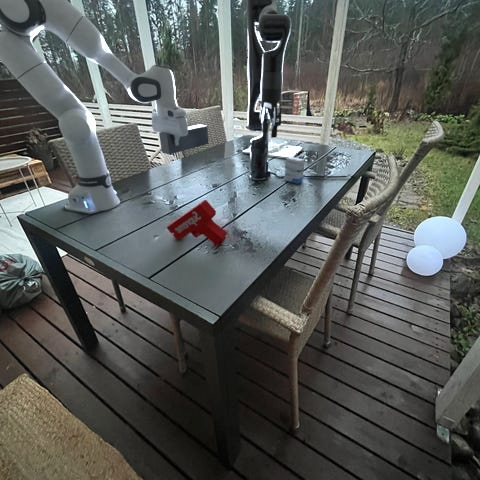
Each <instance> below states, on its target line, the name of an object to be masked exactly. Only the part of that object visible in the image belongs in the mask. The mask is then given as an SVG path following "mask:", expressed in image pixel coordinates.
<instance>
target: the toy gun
mask: <svg viewBox="0 0 480 480" xmlns="http://www.w3.org/2000/svg"><path fill="white" fill-rule="evenodd" d="M216 214H217V211H216V209H215V208H214V207H213V206H212V204H210V203H209V202H208V200H207V199H204V200H202V201H200V202H199V203H198V204H196V205H195V206H193V207H192V208H190V209H189V210H187V211H186V212H185V213H183V214H182V215H180V216H179V217H177V218H175V219H174V220H173V221H172V222H171V223H170V224H168V225H167V226H166V229H167V230H168V231H169V232H170V234H172V236H173V238H174V239H175V240H181V239H183V238H184V237H186V236H188V235H189V234H192V236H193V237H194V238H198V237H200V236H202V235H203V236H204V237H205V238H207V239H208V240H209V241H210V242H212V243H213V246H214V247H216V248H217V246H218V245H223V243H224V242H225V240H226V239H227V237H226V236H227V234H228V231H226V229H224V228H223V227H221V226H220V225H218V224H217V223H216V222H215V221H214V220H213V219H214V217H215V216H216Z"/></svg>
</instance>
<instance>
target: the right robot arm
mask: <svg viewBox="0 0 480 480" xmlns="http://www.w3.org/2000/svg"><path fill="white" fill-rule="evenodd" d="M277 9H278V8H277V4H276V0H246V24H247V50H248V51H247V57H248V58H247V81H248V82H247V84H248V85H247V86H248V106H247V128H248V130H249V131H250V132H261V135H259V136H257V137H254V138H251V139H250V146H251V148H250V154H249V157H250V158H249V160H250V161H249V165H250V166H249V167H250V168H248V171H249V178H250V180H253V181H256V182H257V181H265V180H268V179H269V178H271V175H274V177H276V178H277V179H285V175H282V176H279V175H277V173H276V172H272V170H271V169H270V168H269V156H268V145H269V139H270V137H271V139H272V138H277V137H278V127H279V126H281V125H282V113H283V111H282V110H283V109H282V106H278V103H281V102H282V97H283V96H282V95H283V81H284V80H283V78H284V77H283V69H284V68H283V67H284V57H285V51H286V47H287V43H288V40H289V37H290V35H291V30H292V20H291V17H290V15H288V14H285V13H279V12H278V10H277ZM256 25H257V28H256ZM256 29H257V30H256ZM260 41H262V42H264V43H277V45H276V47H275V48H273V49H271V50H267V51H265V50H264V48H263V47H262V44H261V42H260ZM259 98H260V102H261V103H260V106H259V110H256V108H257V103H258V102H259ZM305 175H306V174H303V178H323V179H324V178H325V179H327V178H328V179H334V178H335V179H339V178H347V177H349V176H345V175H311V176H305ZM350 177H351V178H354V175H352V176H350Z"/></svg>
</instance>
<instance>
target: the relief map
mask: <svg viewBox="0 0 480 480" xmlns="http://www.w3.org/2000/svg"><path fill="white" fill-rule="evenodd" d="M302 147H303V146H294V145H292V144H290V143H289V142H288V141H284V142H282V143H280V144H279V143H278V142H276V141H273V140H272V138H269V145H268V157H271V158H277V159H285V160H286V159H287V158H289V157H296V156H297V155H298V154H299V153H300V152H302V151H303V150H304V148H303V149H302ZM250 148H251V145H250V146H249V147H248V148H247V149H245V150H242V153H243V154H247V155H248V154H249V155H250ZM296 153H297V154H296Z"/></svg>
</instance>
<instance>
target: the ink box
mask: <svg viewBox="0 0 480 480" xmlns="http://www.w3.org/2000/svg"><path fill="white" fill-rule="evenodd" d="M305 162H306V159H304V158H299V157H296V156H294V157H289V158H287V159H286V158H285V169H284V176H285V178H284V181H285V182H289V183H293V184H295V185H298V184H300V183H302V182H303V180H304V177H303V175H304V173H305V171H304V170H305Z"/></svg>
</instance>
